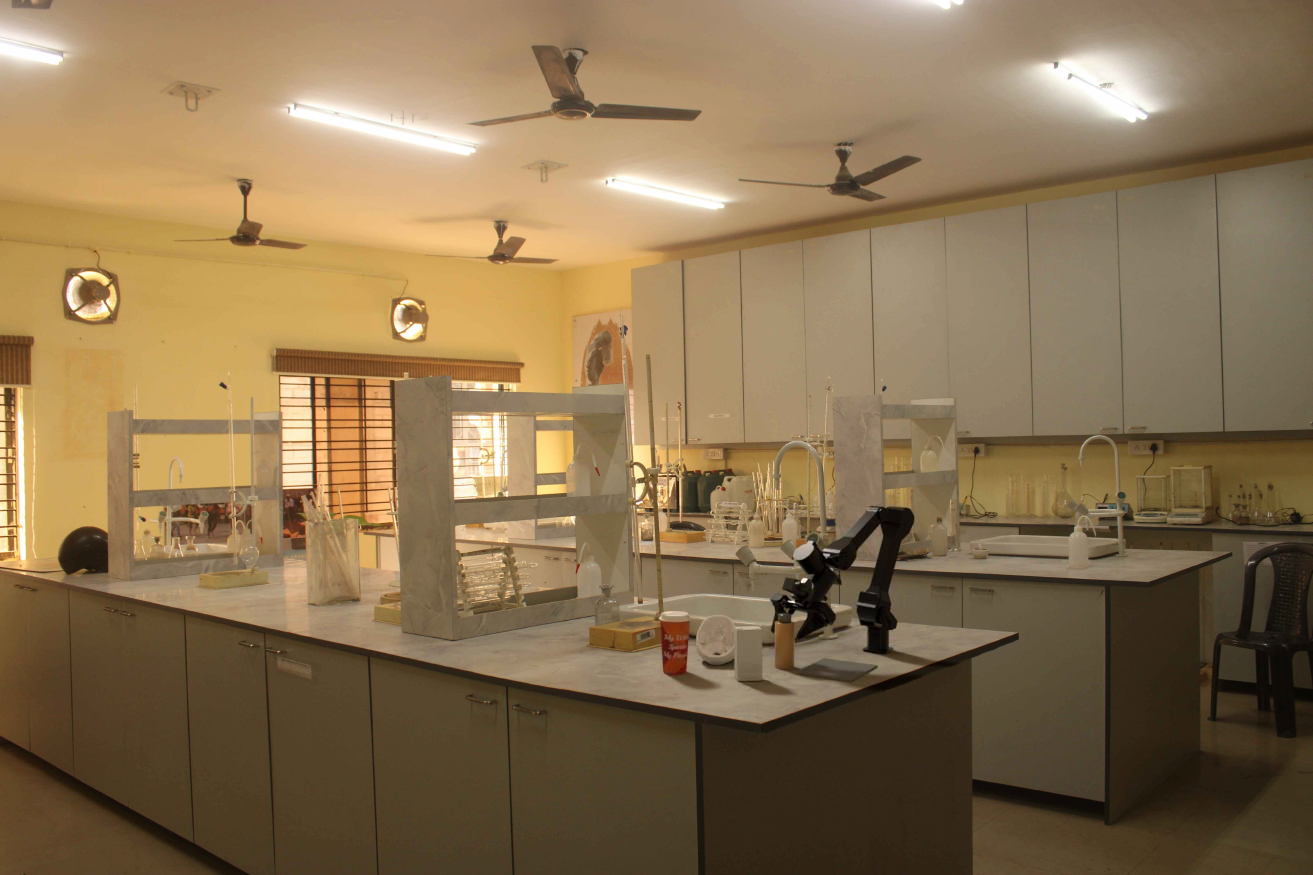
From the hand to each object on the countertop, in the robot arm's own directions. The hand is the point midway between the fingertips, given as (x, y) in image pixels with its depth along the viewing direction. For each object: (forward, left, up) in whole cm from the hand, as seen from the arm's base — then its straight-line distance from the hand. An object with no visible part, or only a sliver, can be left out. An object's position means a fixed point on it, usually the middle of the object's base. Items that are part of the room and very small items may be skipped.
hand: (784, 634), depth 235 cm
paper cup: (+19, -20, -8) cm, 29 cm away
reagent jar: (0, 0, -8) cm, 8 cm away
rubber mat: (-4, +12, -8) cm, 15 cm away
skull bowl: (+3, -17, -8) cm, 19 cm away
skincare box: (+16, -2, -8) cm, 18 cm away
